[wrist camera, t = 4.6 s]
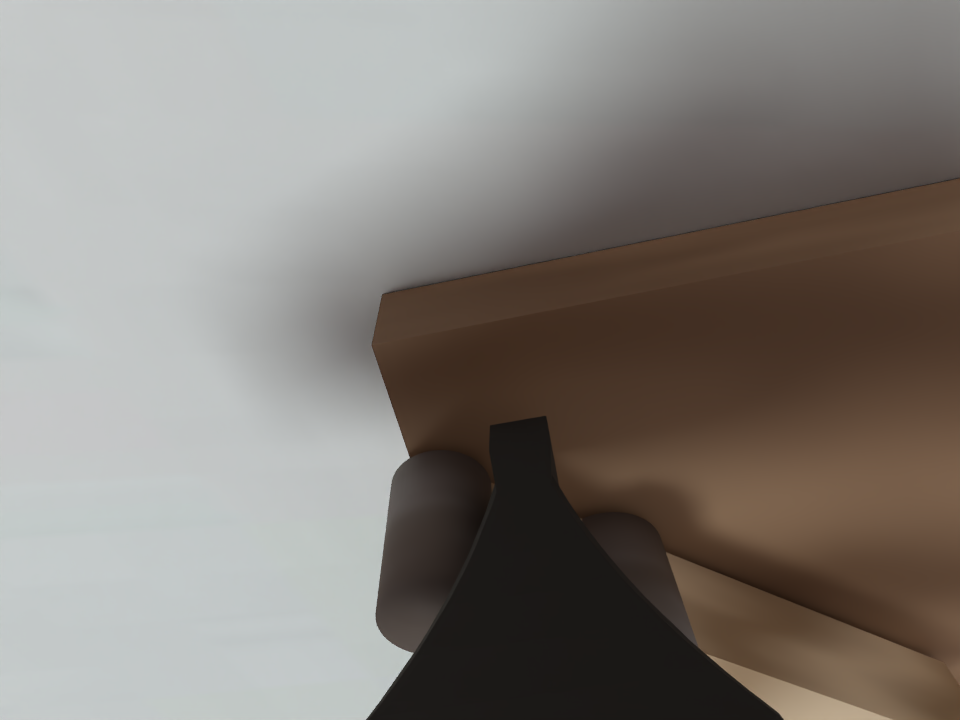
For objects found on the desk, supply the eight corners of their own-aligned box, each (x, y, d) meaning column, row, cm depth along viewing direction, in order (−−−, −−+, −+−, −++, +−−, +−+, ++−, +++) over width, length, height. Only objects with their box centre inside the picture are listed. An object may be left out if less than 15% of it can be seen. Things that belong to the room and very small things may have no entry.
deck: (920, 702, 22) (959, 766, 20) (528, 756, 23) (534, 821, 21) (1060, 158, 12) (1156, 191, 11) (382, 294, 13) (371, 344, 12)
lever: (963, 649, 17) (1054, 776, 14) (889, 699, 18) (962, 826, 15) (423, 427, 12) (414, 551, 10) (370, 511, 14) (351, 641, 11)
